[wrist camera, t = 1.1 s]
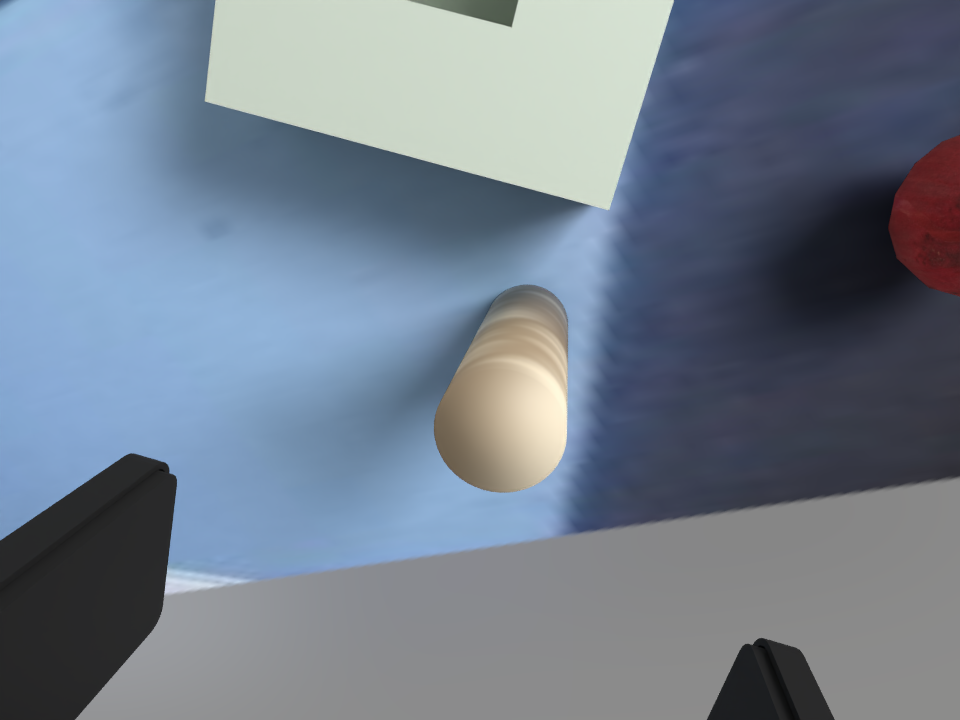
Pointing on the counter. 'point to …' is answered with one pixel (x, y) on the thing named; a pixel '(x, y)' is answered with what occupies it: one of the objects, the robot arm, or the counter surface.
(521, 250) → the counter surface
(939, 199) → the onion
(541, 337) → the pin
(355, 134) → the hole block
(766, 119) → the counter surface
